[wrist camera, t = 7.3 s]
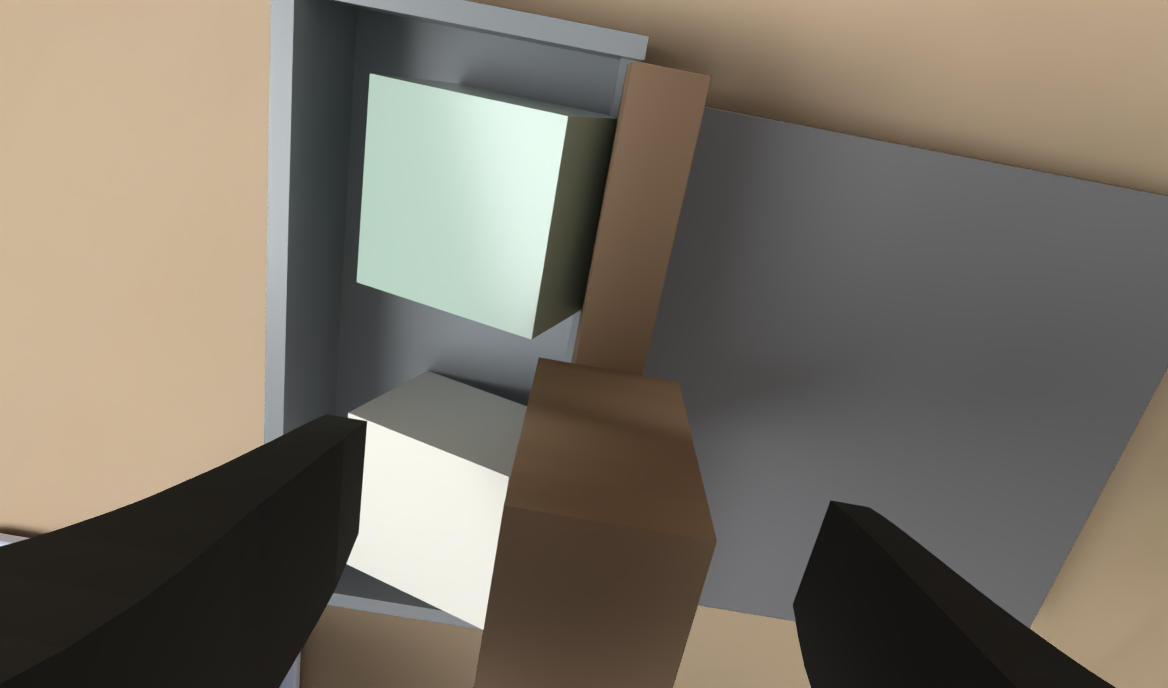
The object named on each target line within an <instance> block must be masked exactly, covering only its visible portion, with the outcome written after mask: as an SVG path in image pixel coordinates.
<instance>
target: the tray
mask: <svg viewBox="0 0 1168 688" xmlns="http://www.w3.org/2000/svg"><path fill="white" fill-rule="evenodd" d="M648 39H649V36H644V35H639V34H634V33H629V32H623V31H618V30H613V29H608V28H603V27H598V26H593V25H588V24H583V23H578V22H573V21H567V20H562V19H557V18H552V17H547V16H542V15H537V14H532V13H527V12H522V11H517V10H512V9H506V8H501V7H496V6H491V5H486V4H481V3H476V2H471V1H466V0H271V4H270V73H269V143H268V213H267V283H266V352H265V422H264V444H266V443H268V442H270V441H272V440H274V439H276V438H278V437H280V436H282V435H284V434H286V433H288V432H290V431H292V430H294V429H296V428H298V427H300V426H302V425H304V424H306V423H308V422H310V421H312V420H315V419H317V418H319V417H322V416H324V415H326V414H329V415H334V416H340V417H346V418H348V413H349V412H351V411H352V410H354V409H356V408H358V407H360V406H362V405H364V404H366V403H368V402H369V401H371V400H373V399H375V398H377V397H379V396H381V395H383V394H385V393H386V392H388V391H390V390H392V389H394V388H396V387H398V386H400V385H402V384H403V383H405V382H407V381H409V380H411V379H413V378H415V377H417V376H419V375H420V374H422V373H424V372H426V371H430V372H433V373H436V374H439V375H441V376H444V377H447V378H450V379H452V380H455V381H458V382H461V383H464V384H466V385H469V386H472V387H475V388H477V389H480V390H483V391H486V392H488V393H491V394H494V395H497V396H499V397H502V398H505V399H508V400H511V401H513V402H516V403H519V404H522V405H524V406H527V405H528V401H529V397H530V392H531V388H532V384H533V380H534V375H535V371H536V367H537V363H538V359H539V357H541V358H546V359H552V360H558V361H563V362H569V363H571V360H572V355H573V350H574V344H575V339H576V334H577V328H578V323H579V318H580V312H581V310H580V311H579V312H577V313H575V314H574V315H572V316H570V317H569V318H567V319H565V320H564V321H562V322H560V323H559V324H557V325H555V326H554V327H552V328H550V329H548V330H547V331H545V332H543V333H542V334H540V335H538V336H537V337H535V338H533V339H532V340H531V339H528V338H525V337H522V336H519V335H516V334H513V333H510V332H507V331H504V330H501V329H498V328H495V327H492V326H489V325H485V324H482V323H479V322H476V321H473V320H470V319H467V318H464V317H461V316H458V315H455V314H452V313H449V312H446V311H443V310H440V309H437V308H434V307H431V306H428V305H425V304H422V303H419V302H415V301H412V300H409V299H406V298H403V297H400V296H397V295H394V294H391V293H388V292H385V291H382V290H379V289H376V288H373V287H370V286H367V285H364V284H361V283H358V282H357V268H358V252H359V236H360V220H361V204H362V189H363V173H364V157H365V141H366V126H367V110H368V94H369V78H370V74H379V75H388V76H397V77H406V78H415V79H424V80H433V81H442V82H451V83H459V84H464V85H469V86H473V87H478V88H483V89H488V90H492V91H497V92H502V93H506V94H511V95H516V96H521V97H525V98H530V99H535V100H540V101H544V102H549V103H554V104H559V105H563V106H568V107H573V108H578V109H582V110H587V111H592V112H596V113H601V114H606V115H611V116H615V117H617V116H618V111H619V106H620V100H621V95H622V90H623V84H624V79H625V74H626V68H627V64H628V63H630V62H632V61H638V62H642V61H644V60H645V55H646V50H647V45H648ZM327 605H331V606H337V607H343V608H350V609H356V610H362V611H368V612H374V613H380V614H387V615H393V616H399V617H405V618H411V619H417V620H424V621H430V622H436V623H442V624H448V625H455V626H461V627H467V628H473V629H479V630H482V629H480V628H478V627H476V626H474V625H472V624H470V623H468V622H466V621H464V620H462V619H460V618H458V617H455V616H453V615H451V614H449V613H447V612H445V611H443V610H441V609H439V608H437V607H435V606H433V605H431V604H428V603H426V602H424V601H422V600H420V599H418V598H416V597H414V596H412V595H410V594H408V593H406V592H404V591H401V590H399V589H397V588H395V587H393V586H391V585H389V584H387V583H385V582H383V581H381V580H379V579H376V578H374V577H372V576H370V575H368V574H366V573H364V572H362V571H360V570H358V569H356V568H354V567H352V566H349V565H347V564H346V566H345V568H344V571H343V573H342V575H341V578H340V580H339V582H338V585H337V587H336V589H335V591H334V593H333V595H332V597H331V599H330V600H329V602H328V604H327Z"/></svg>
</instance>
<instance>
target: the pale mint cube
mask: <svg viewBox="0 0 1168 688" xmlns="http://www.w3.org/2000/svg"><path fill="white" fill-rule="evenodd" d="M616 121H617V117H615V116H611V115H606V114H601V113H596V112H592V111H587V110H582V109H578V108H573V107H568V106H563V105H559V104H554V103H549V102H544V101H540V100H535V99H530V98H525V97H521V96H516V95H511V94H506V93H502V92H497V91H492V90H488V89H483V88H478V87H473V86H469V85H464V84H459V83H451V82H442V81H433V80H424V79H415V78H406V77H397V76H388V75H379V74H370V78H369V94H368V110H367V126H366V141H365V157H364V173H363V189H362V204H361V220H360V236H359V252H358V268H357V282H358V283H361V284H364V285H367V286H370V287H373V288H376V289H379V290H382V291H385V292H388V293H391V294H394V295H397V296H400V297H403V298H406V299H409V300H412V301H415V302H419V303H422V304H425V305H428V306H431V307H434V308H437V309H440V310H443V311H446V312H449V313H452V314H455V315H458V316H461V317H464V318H467V319H470V320H473V321H476V322H479V323H482V324H485V325H489V326H492V327H495V328H498V329H501V330H504V331H507V332H510V333H513V334H516V335H519V336H522V337H525V338H528V339H531V340H532V339H533V338H535V337H537V336H538V335H540V334H542V333H543V332H545V331H547V330H548V329H550V328H552V327H554V326H555V325H557V324H559V323H560V322H562V321H564V320H565V319H567V318H569V317H570V316H572V315H574V314H575V313H577V312H579V311H580V310H581V307H582V302H583V297H584V291H585V286H586V281H587V275H588V270H589V265H590V259H591V254H592V249H593V243H594V238H595V233H596V228H597V222H598V217H599V212H600V206H601V201H602V196H603V190H604V185H605V180H606V175H607V169H608V164H609V159H610V153H611V148H612V143H613V137H614V132H615V127H616Z"/></svg>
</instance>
